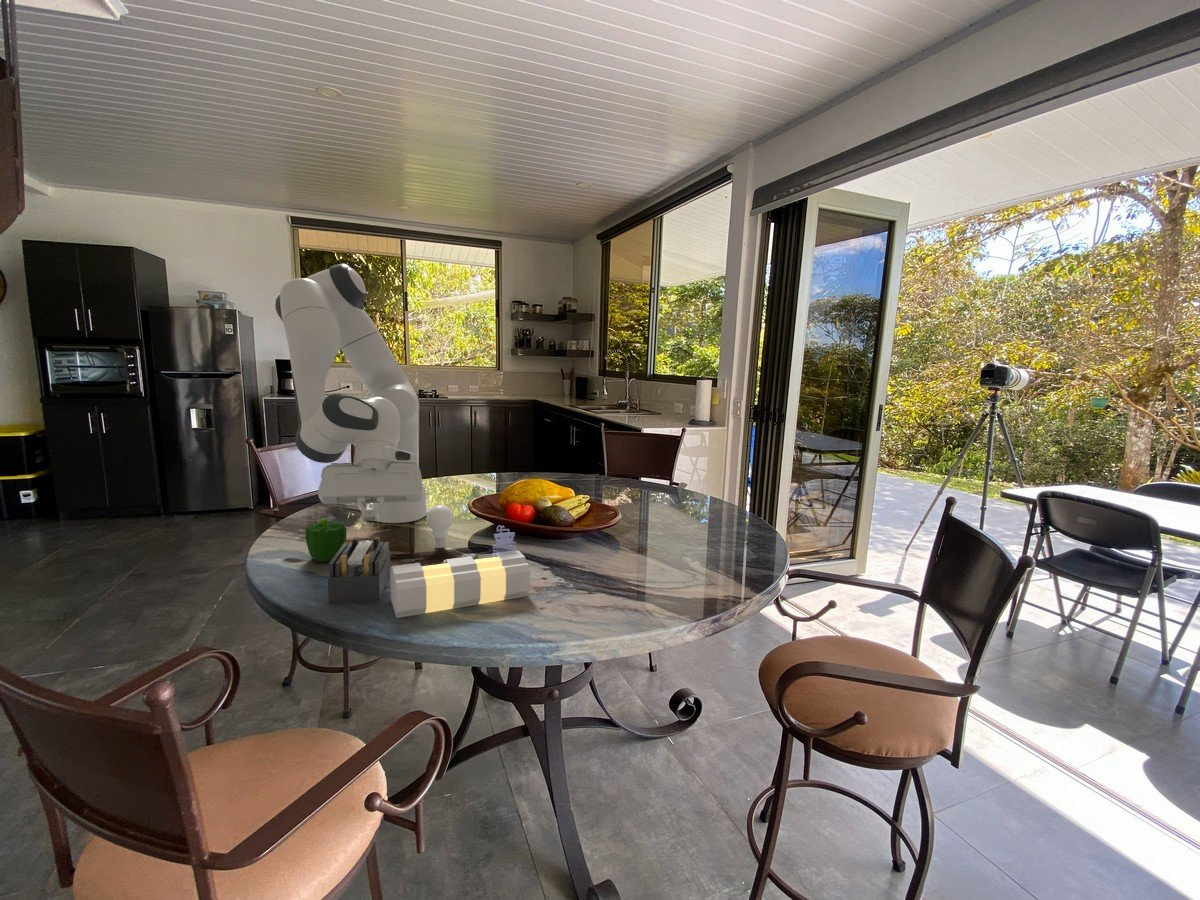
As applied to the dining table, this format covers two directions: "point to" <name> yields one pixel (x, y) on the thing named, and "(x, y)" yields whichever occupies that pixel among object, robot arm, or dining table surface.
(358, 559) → the grey slab
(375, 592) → the dark grey slotted box
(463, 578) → the grey yellow striped block
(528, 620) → the dining table surface
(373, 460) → the robot arm
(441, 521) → the lightbulb
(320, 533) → the bell pepper
